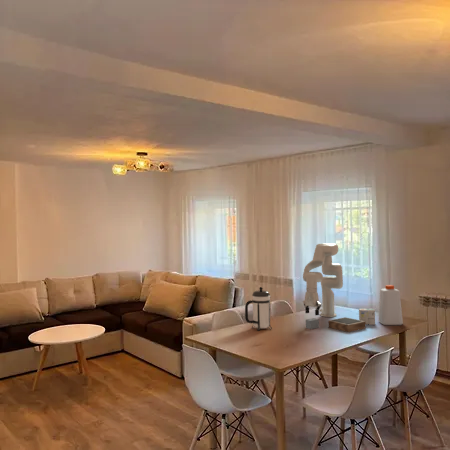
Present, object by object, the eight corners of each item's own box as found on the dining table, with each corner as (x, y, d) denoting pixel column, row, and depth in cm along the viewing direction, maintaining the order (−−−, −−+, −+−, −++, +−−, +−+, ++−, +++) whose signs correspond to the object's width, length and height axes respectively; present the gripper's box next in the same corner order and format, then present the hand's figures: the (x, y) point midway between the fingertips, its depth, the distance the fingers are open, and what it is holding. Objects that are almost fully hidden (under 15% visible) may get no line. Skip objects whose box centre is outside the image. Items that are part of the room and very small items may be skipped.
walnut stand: (328, 327, 319) (328, 320, 319) (345, 324, 329) (345, 316, 329) (348, 332, 304) (348, 324, 304) (365, 328, 314) (365, 320, 314)
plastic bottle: (397, 321, 335) (396, 284, 335) (404, 325, 320) (403, 286, 320) (377, 321, 336) (376, 284, 336) (383, 325, 321) (382, 287, 321)
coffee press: (255, 325, 330) (254, 285, 330) (275, 327, 322) (274, 286, 322) (245, 330, 315) (244, 288, 315) (265, 332, 307) (265, 289, 307)
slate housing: (305, 328, 320) (305, 319, 320) (315, 326, 325) (314, 317, 325) (310, 329, 315) (310, 320, 315) (320, 327, 320) (319, 319, 320)
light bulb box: (373, 322, 332) (373, 308, 332) (375, 324, 325) (375, 310, 325) (358, 322, 333) (358, 308, 333) (360, 324, 326) (360, 310, 326)
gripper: (299, 289, 325) (299, 313, 324) (316, 291, 310) (317, 316, 310) (307, 288, 329) (307, 311, 329) (324, 291, 315) (324, 315, 314)
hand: (312, 314), depth 319 cm, fingers open, 9 cm apart
